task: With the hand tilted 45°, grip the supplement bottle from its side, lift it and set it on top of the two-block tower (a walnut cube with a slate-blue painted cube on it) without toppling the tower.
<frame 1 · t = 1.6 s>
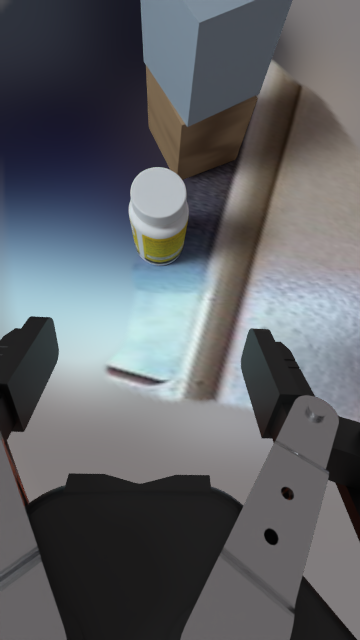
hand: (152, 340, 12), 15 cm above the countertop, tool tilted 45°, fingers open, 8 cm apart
walnut block: (192, 143, 31), on the countertop, touching slate block
supplement bottle: (159, 244, 29), on the countertop
slate block: (201, 77, 24), point 7 cm above the countertop, touching walnut block
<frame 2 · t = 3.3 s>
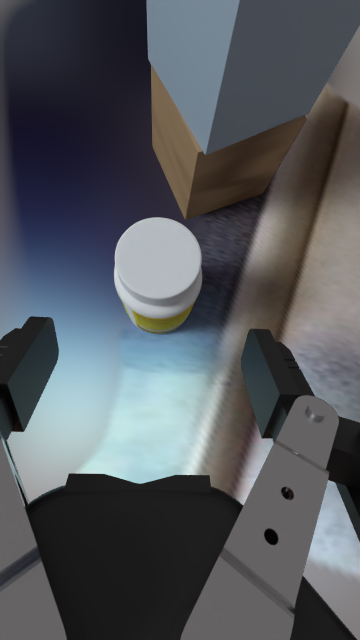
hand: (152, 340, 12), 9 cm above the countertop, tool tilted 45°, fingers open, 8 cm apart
walnut block: (207, 170, 24), on the countertop, touching slate block
supplement bottle: (158, 303, 21), on the countertop
slate block: (228, 86, 17), point 7 cm above the countertop, touching walnut block
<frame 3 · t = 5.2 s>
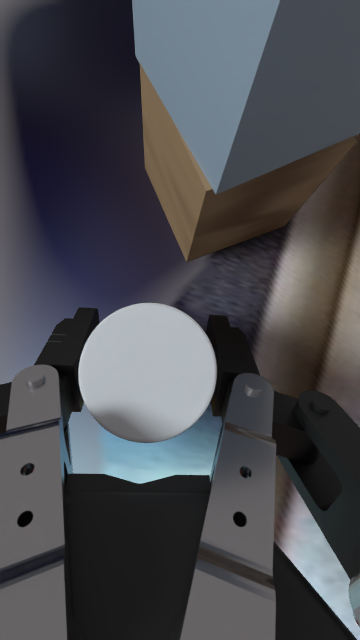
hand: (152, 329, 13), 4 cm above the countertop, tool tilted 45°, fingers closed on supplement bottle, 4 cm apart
walnut block: (214, 197, 19), on the countertop, touching slate block
supplement bottle: (152, 373, 17), on the countertop, touching gripper
slate block: (248, 95, 12), point 7 cm above the countertop, touching walnut block
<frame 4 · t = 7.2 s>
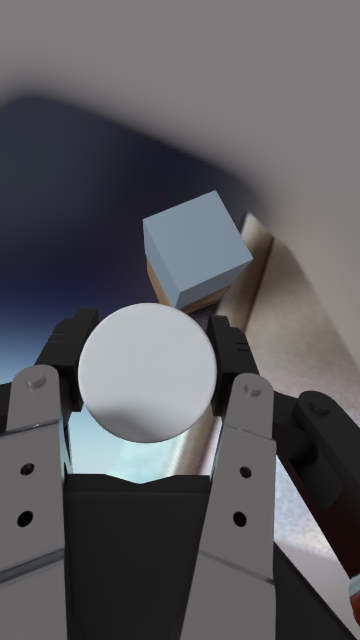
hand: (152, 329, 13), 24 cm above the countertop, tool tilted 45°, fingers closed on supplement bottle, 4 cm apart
walnut block: (182, 287, 38), on the countertop, touching slate block
supplement bottle: (151, 373, 17), point 19 cm above the countertop, touching gripper
slate block: (188, 268, 31), point 7 cm above the countertop, touching walnut block
when the fingers open (19 cm above the countertop, at t = 9.3 s): supplement bottle drops 1 cm, resting on slate block.
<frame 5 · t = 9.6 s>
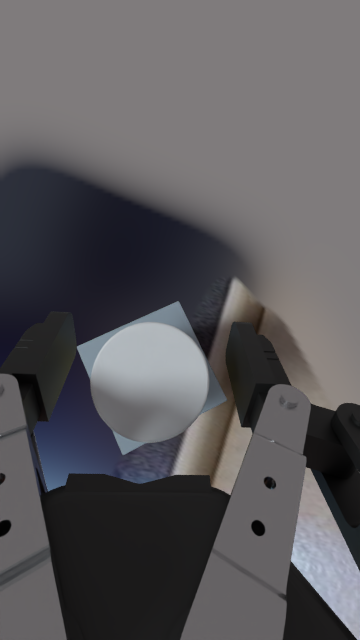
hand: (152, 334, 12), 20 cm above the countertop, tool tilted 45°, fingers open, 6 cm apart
supplement bottle: (152, 375, 18), point 14 cm above the countertop, touching slate block
slate block: (153, 374, 25), point 7 cm above the countertop, touching supplement bottle, walnut block
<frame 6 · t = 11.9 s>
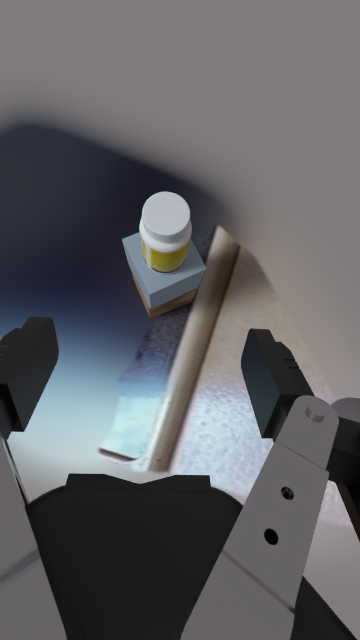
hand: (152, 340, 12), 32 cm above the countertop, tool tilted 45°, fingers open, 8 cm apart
walnut block: (162, 290, 46), on the countertop, touching slate block
supplement bottle: (164, 255, 32), point 14 cm above the countertop, touching slate block
slate block: (163, 275, 39), point 7 cm above the countertop, touching supplement bottle, walnut block
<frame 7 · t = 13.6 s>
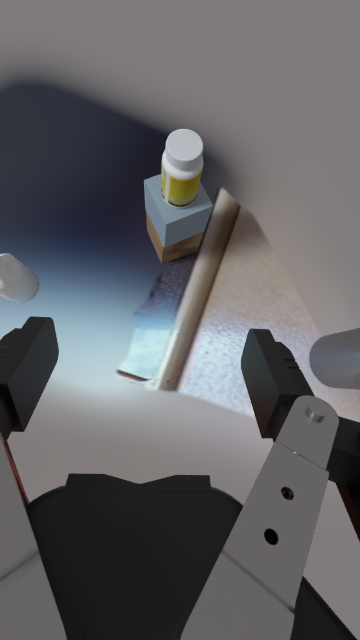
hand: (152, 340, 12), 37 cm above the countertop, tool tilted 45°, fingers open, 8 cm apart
walnut block: (172, 240, 52), on the countertop, touching slate block
supplement bottle: (178, 194, 39), point 14 cm above the countertop, touching slate block
slate block: (175, 220, 46), point 7 cm above the countertop, touching supplement bottle, walnut block
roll: (22, 287, 49), on the countertop
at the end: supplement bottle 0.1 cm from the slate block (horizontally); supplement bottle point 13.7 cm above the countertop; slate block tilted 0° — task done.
